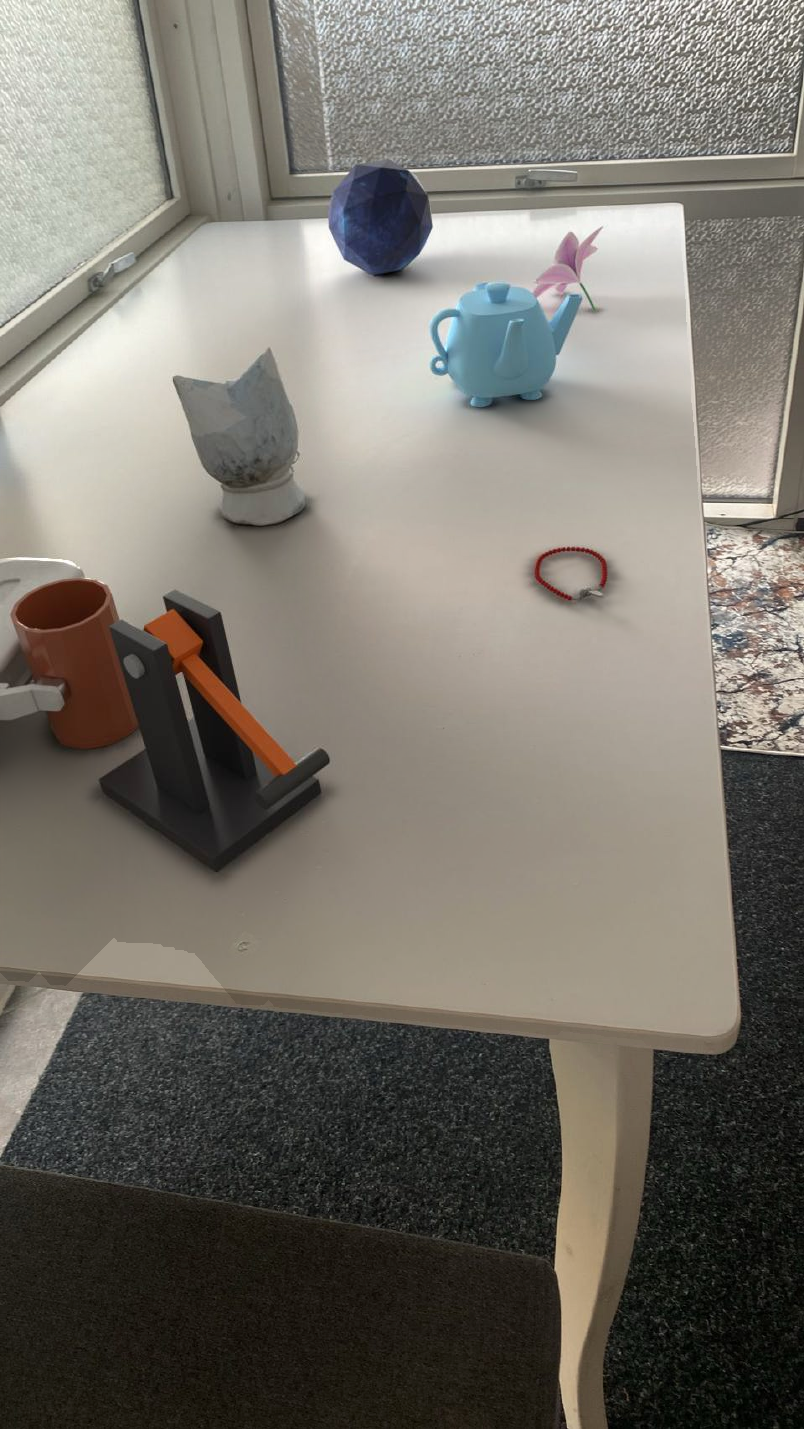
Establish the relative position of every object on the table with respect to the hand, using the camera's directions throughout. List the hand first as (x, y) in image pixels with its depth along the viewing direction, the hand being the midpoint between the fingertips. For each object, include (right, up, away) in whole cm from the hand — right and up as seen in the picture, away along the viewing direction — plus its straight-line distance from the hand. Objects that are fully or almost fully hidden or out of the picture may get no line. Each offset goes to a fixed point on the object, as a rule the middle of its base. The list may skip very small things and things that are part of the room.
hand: (90, 659), depth 78 cm
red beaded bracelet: (+36, +7, +13) cm, 39 cm away
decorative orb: (+19, +60, +82) cm, 103 cm away
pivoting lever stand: (+9, -9, -4) cm, 13 cm away
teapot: (+33, +32, +45) cm, 64 cm away
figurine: (+8, +16, +28) cm, 33 cm away
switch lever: (+11, -4, -11) cm, 16 cm away
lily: (+43, +48, +64) cm, 91 cm away
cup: (0, -4, +4) cm, 6 cm away
